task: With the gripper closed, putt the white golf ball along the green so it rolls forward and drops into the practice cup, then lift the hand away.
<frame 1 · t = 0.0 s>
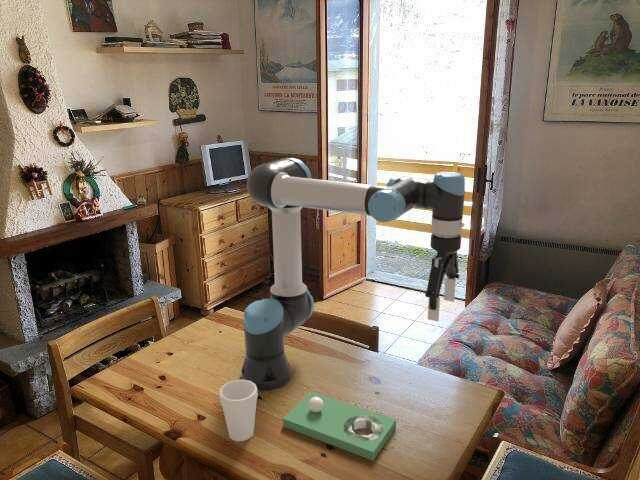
hand: (441, 309, 139), 28 cm above the table, fingers open, 13 cm apart
ball: (316, 404, 139), point 4 cm above the table, touching green
foam cup: (241, 433, 135), on the table
green: (339, 427, 137), on the table
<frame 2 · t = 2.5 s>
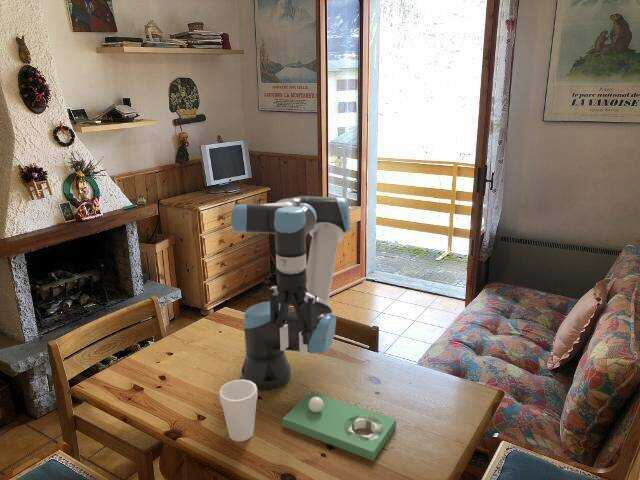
hand: (294, 351, 138), 19 cm above the table, fingers open, 5 cm apart
nothing on the table moved.
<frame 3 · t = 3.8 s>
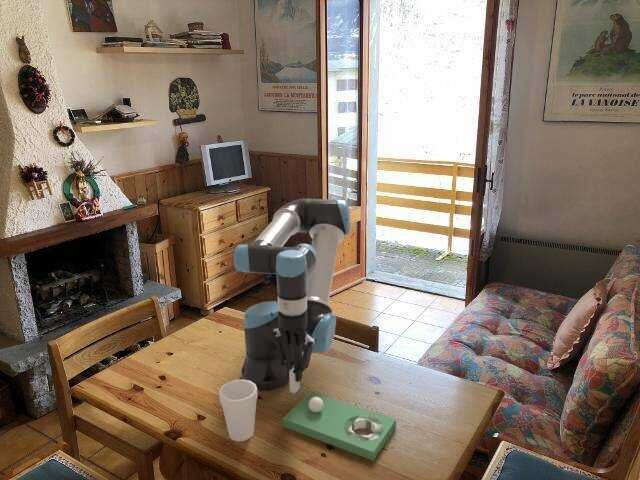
hand: (294, 390, 141), 7 cm above the table, fingers closed
nothing on the table moved.
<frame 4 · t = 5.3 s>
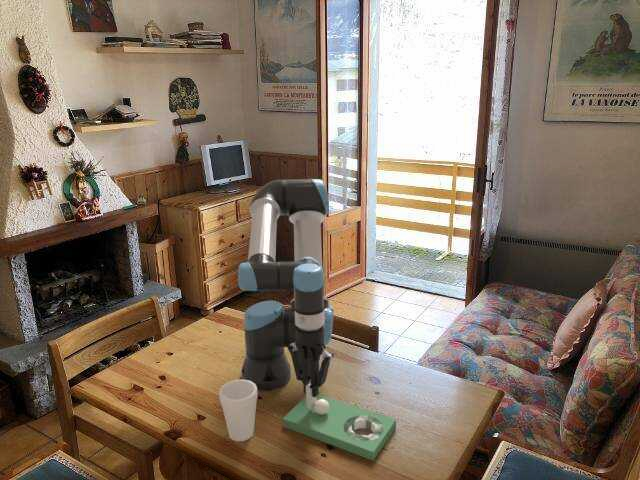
hand: (311, 405, 139), 4 cm above the table, fingers closed
ball: (321, 406, 138), point 4 cm above the table, tilted 50°, touching green
everything else where it was.
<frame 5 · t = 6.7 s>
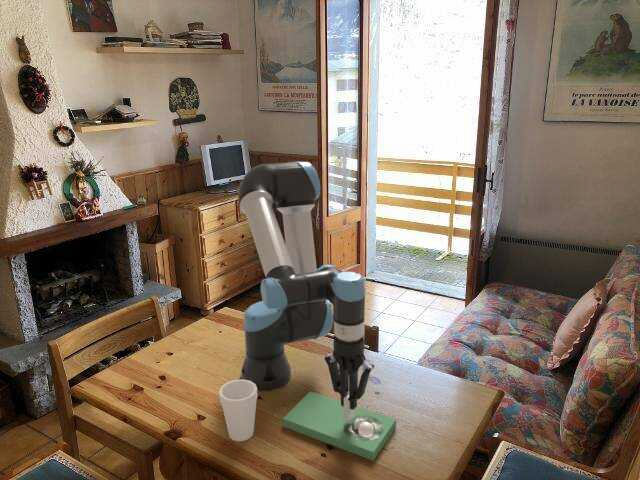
hand: (348, 417, 134), 4 cm above the table, fingers closed
ball: (366, 430, 132), point 2 cm above the table, tilted 93°
everything else where it was.
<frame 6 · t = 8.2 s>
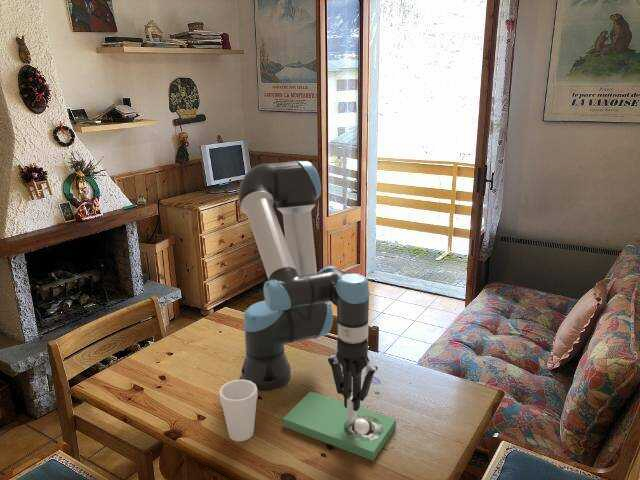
hand: (351, 418, 134), 4 cm above the table, fingers closed
ball: (361, 427, 134), point 2 cm above the table, tilted 60°
everything else where it was.
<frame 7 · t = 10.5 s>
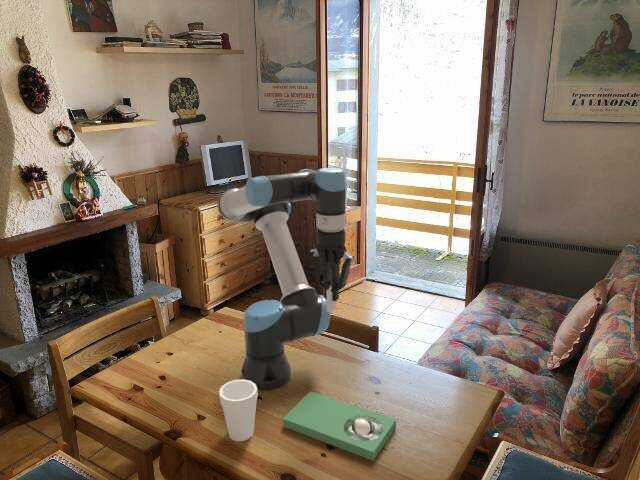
hand: (331, 310, 143), 26 cm above the table, fingers closed
ball: (362, 427, 133), point 2 cm above the table, tilted 66°
everything else where it was.
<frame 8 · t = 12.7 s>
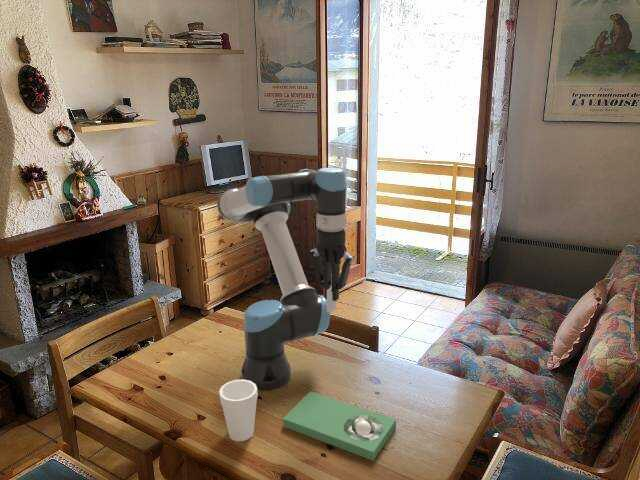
hand: (331, 310, 143), 26 cm above the table, fingers closed
ball: (363, 428, 133), point 2 cm above the table, tilted 72°
everything else where it was.
at the end: ball 0.2 cm from the target spot on the green, point 2.0 cm above the green's base; ball moved 14.1 cm from its start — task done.
